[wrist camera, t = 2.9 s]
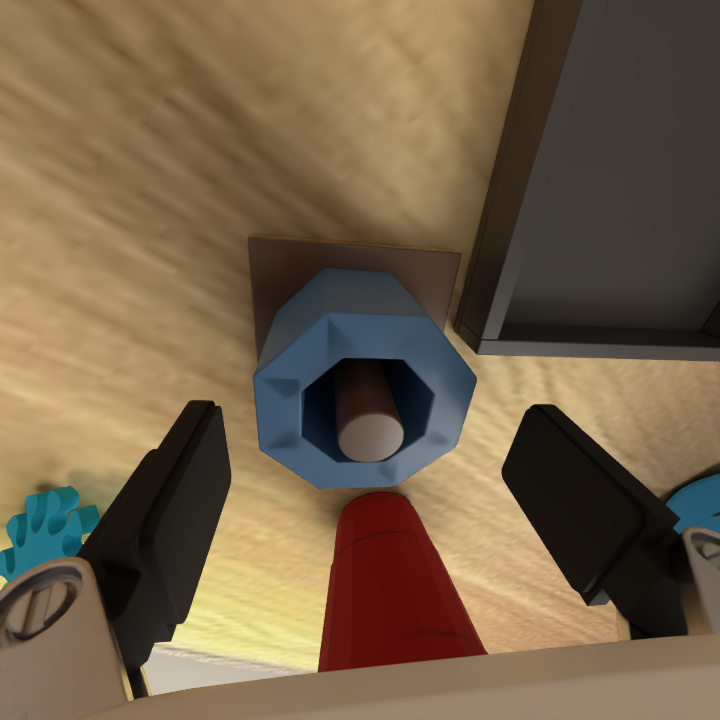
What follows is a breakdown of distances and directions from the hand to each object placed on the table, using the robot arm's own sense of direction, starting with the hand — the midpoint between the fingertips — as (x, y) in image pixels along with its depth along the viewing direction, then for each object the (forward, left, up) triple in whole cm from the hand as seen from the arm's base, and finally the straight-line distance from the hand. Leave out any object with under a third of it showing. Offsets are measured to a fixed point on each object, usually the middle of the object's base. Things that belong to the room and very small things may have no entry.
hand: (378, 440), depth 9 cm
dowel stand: (0, 0, -7) cm, 7 cm away
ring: (0, 0, -6) cm, 6 cm away
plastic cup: (+15, +3, -8) cm, 17 cm away
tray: (-8, +13, -7) cm, 17 cm away
